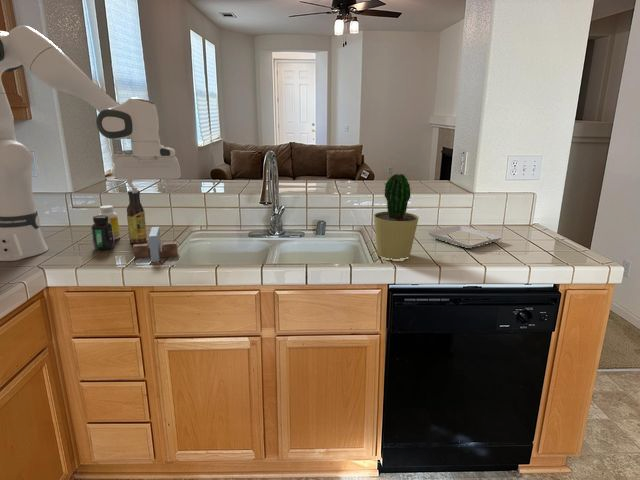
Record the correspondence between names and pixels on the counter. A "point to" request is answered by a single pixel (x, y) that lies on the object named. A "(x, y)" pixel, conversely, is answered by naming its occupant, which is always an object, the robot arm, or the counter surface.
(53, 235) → the counter surface
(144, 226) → the sauce bottle
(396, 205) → the potted cactus
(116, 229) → the supplement bottle
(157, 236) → the blue gray rectangular block
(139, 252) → the notched block
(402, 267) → the counter surface
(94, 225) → the supplement bottle
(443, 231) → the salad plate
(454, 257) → the counter surface
